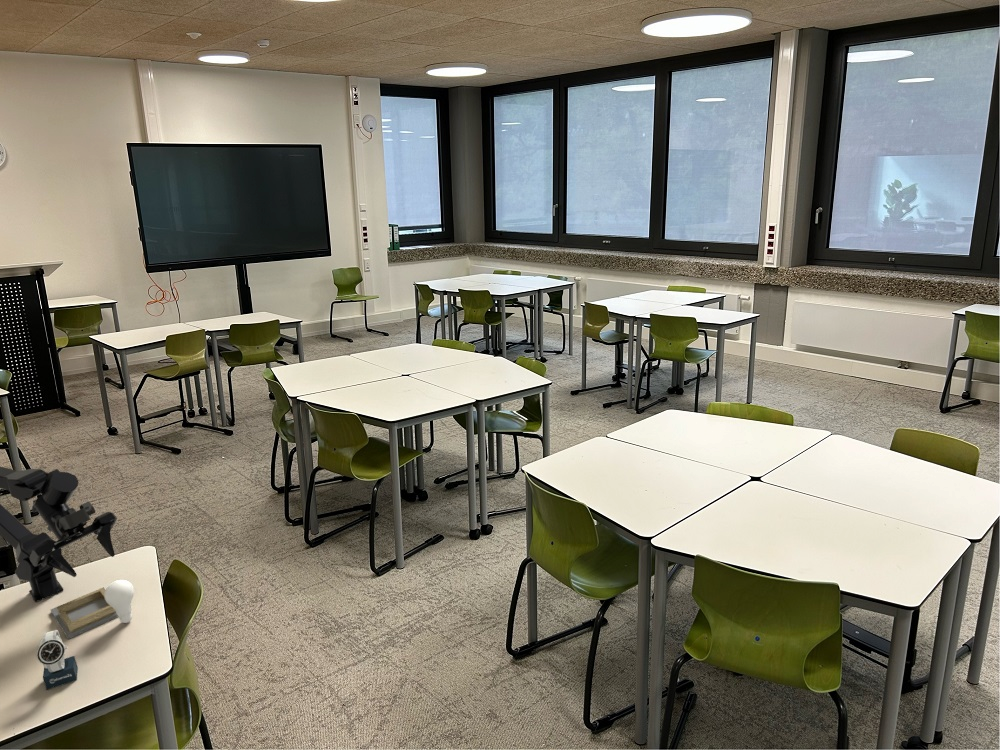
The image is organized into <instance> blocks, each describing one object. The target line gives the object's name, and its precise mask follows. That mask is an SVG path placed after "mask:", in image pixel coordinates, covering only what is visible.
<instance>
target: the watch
mask: <svg viewBox="0 0 1000 750" xmlns="http://www.w3.org/2000/svg"><path fill="white" fill-rule="evenodd" d="M68 649H69V648H68V645H67V644H66V645H65V644H64V643H63V639H62V638H61V635H60V632H59V630H58V629H55V630H51V631H48V632H44V633H43V635H42V640H40V641H39V645H38V649H37V652H36V658H37V661H39V663H41V665H42V666H43V674H42V680H43V684H44V686H45V688H46V689H45V690H50V689H53V688H56V687H59V686H62V685H66V684H68V683H71V682H75V681H78V672H79V671H78V670H79V666H78V663H77V660H76V655H73V656H69V657H66V658H65V656H66V654H65V653H66V650H68Z"/></svg>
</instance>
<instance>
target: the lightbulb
mask: <svg viewBox="0 0 1000 750" xmlns="http://www.w3.org/2000/svg"><path fill="white" fill-rule="evenodd" d="M134 595H135V587H134V586H133V584H132V583H131V582H130V581H128V580H126V579H117V580H114V581H113V582H111V583H109V584H108V585H107V587H106V588H105V594H104V597H105V600H106V602H107V603H108V604H109V605H110V606H111V607H113V608H114V609H115V611H116V613H117V615H118V619H119V622H120V623H123V624H128V623H129V622H131V620H132V619H133V615H132V601H133V598H134Z"/></svg>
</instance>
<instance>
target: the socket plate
mask: <svg viewBox="0 0 1000 750" xmlns="http://www.w3.org/2000/svg"><path fill="white" fill-rule="evenodd" d="M105 590H106V588H105V587H101V588H98V589H96V590H94V591H92V592H89V593H87V594H84V595H81V596H80V597H77V598H75V599H72V600H70V601H68V602H64V603H63V604H60V605H58V606H55V607H54V608H51V609H50V612H51V613H50V614H51V615H52V616H53V617H55V618H54V619H55V620H56V622H57V624H58V625H59V627H60V628H61V630H62V632H63V633H64V635H65V637H66V638H67V639H68V640H69V639H71V638H74V637H76V636H79V635H81V634H83V633H85V632H87V631H90V630H92V629H94V628H96V627H98V626H101V625H102V624H105V623H107V622H109V621H112V620H114V619H116V618H119V616H118V615H117V613H116V611H115V609H114V608H113V607H111V606H110V605H109V604H108V603H107V602H106V600H105V597H104V594H105Z"/></svg>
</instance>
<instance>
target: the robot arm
mask: <svg viewBox="0 0 1000 750" xmlns="http://www.w3.org/2000/svg"><path fill="white" fill-rule="evenodd" d="M78 486H79V479H78V477H77V476H76V475H75V474H72V473H70V472H67V471H60V470H59V469H58V468H55V469H54V470H52V471H48V472H47V471H45V470H44V469H40V468H29V469H23V470H16V469H12V468H9V467H3V466H0V489H1V490H6V491H9V493H10V497H12V498H14V499H17V500H18V501H22V502H27V501H29V500H32V499H33V501H32V503H33V504H32V507H31V511H32V513H37V512H38V514H39V515H40V517H41V518H42V519H43V520H44V522H45V523H46V525H47V530H48V531H49V532H52V534H54V536H55V538H56V539H57V540H54V539H53V538H51V536H49V535H48V533H46V532H44V531H43V532H40V533H38V534H36V533H33V532H32V531H31V530H29V529H28V528H27V527H26V526H25V525H24V524H23V523H22V522H21V521H19V519H18V518H16V517H15V516H14V515H13V514H12V513H11V512H10V511H9V510H8V509H7V508H6V507H5V506H4V505H2V504H1V503H0V536H1V537H2V539H4V540H5V541H6V542H7V543H8V544H10V546H12V547H13V548H14V549H15V553H16V554H15V555H16V562H18V565H17V567H16V569H15V570H14V573H15V575H16V576H17V578H18V579H19V580H22V581H23V580H24V581H27V582H28V583H29V585H30V586H29V587H30V590H29V591H28V592H29V594H30V597H31V598H32V600H33V601H34V602H35V603H37V602H39V601H41V600H45V599H47V598H49V597H51V596H54V595H57V594H60V593H61V591H62V592H63V591H64V587H63V586H62V585H61V583H60V581H59V580H58V578H57V574H56V572H55V569H56V570H58V571H60V572H63V573H65V574H66V575H69V576H71V577H73V578H75V577H77V575H78V574H77V573H76V570H75V569H74V568H73V566H72V565H71V564H70V563H69V562H68V561H67V560H66V558H65V557H64V555H63V554H62V553H63V551H62V548H65V547H66V546H68V545H71V544H72V543H74V542H77V541H78V540H81V539H83V538H85V537H87V536H89V535H91V534H94V535H97V536H96V540H97V541H98V543H99V544H100V545H101V546H102V548H103V549H104V550H105V552H107V554H108V555H109V556H110V557H111V558H114V557H115V556H116V554H115V551H114V546H113V541H112V537H111V530H112V529H113V527H114V525H115V523H116V521H117V519H118V517H117V516H116V515H115V513H114V512H110V511H106V512H104V513H102V514H100V515H98V516H96V517H94V520H93V521H92V523H91V524H89V525H87V523H88V521H91V520H92V519H91V517H90V516H92V515H94V514H96V509H95V508H94V506H93V504H92V503H91V502H90V501H86V502H84V503H83V504H80V505H79V506H78V507H79V510H76V509H75V508H73V507H70V506H69V504H67V503H68V502H69V501H70V500H71V498H72V496H73V495H74V493H75V491H76V490H77V488H78ZM37 496H38V497H37ZM35 497H37V498H36V499H35V500H34V498H35ZM85 526H86V527H85Z"/></svg>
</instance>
